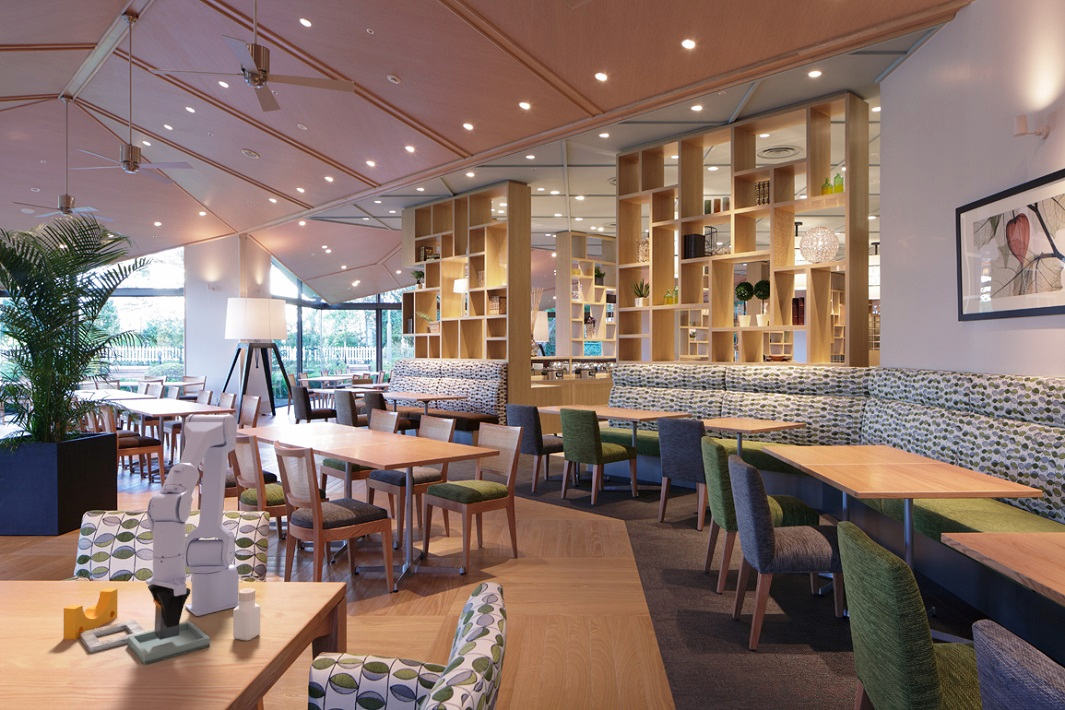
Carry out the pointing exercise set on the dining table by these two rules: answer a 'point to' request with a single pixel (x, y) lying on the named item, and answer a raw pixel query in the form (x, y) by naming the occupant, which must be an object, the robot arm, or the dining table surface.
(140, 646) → the tray
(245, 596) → the pepper shaker
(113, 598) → the pipe clamp
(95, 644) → the socket
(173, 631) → the pin
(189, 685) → the dining table surface
